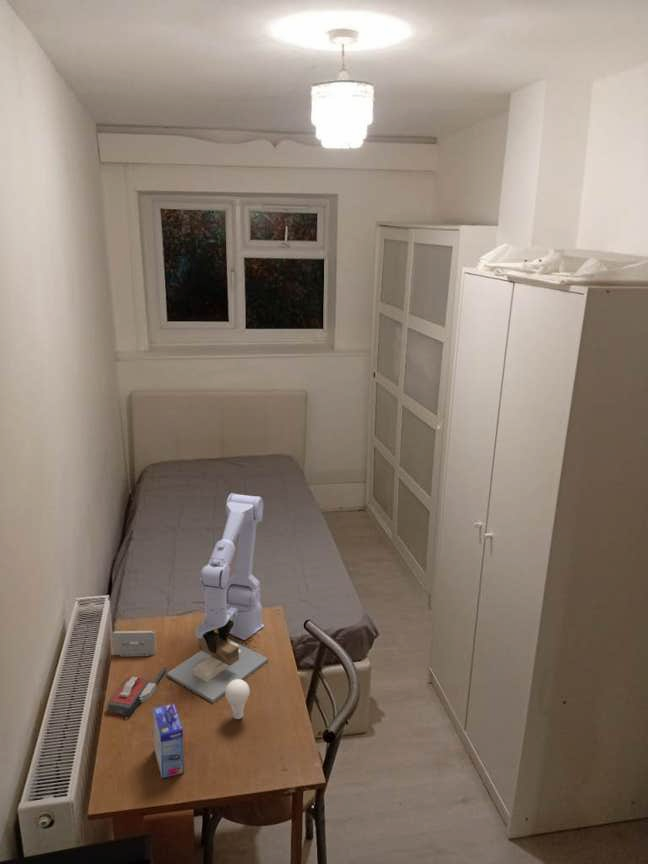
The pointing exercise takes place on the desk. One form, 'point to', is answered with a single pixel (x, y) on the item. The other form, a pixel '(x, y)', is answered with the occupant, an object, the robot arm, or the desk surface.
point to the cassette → (134, 649)
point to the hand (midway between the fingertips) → (217, 647)
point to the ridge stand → (215, 672)
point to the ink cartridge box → (168, 740)
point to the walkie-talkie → (132, 694)
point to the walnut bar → (221, 651)
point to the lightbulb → (237, 696)
